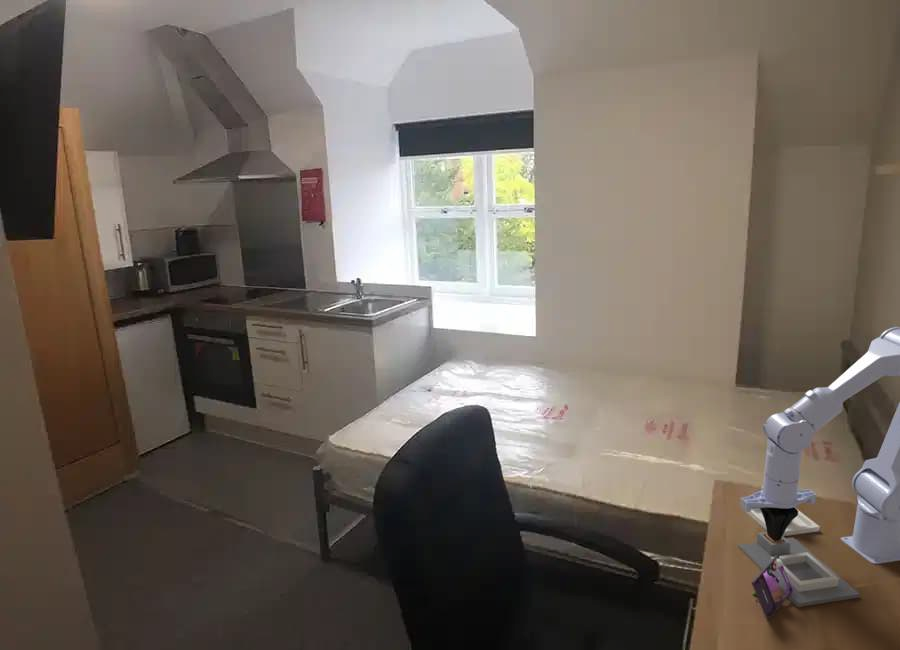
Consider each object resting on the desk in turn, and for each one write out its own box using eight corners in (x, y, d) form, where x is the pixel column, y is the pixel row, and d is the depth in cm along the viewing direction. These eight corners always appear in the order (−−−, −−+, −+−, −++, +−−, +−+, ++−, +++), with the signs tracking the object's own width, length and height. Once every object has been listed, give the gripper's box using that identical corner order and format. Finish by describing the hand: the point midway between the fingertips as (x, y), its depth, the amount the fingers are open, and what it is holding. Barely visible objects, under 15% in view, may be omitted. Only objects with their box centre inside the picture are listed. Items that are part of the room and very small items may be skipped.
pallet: (792, 540, 117) (794, 527, 116) (859, 597, 101) (861, 583, 100) (737, 548, 115) (739, 535, 115) (797, 607, 100) (798, 592, 99)
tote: (784, 505, 129) (785, 500, 128) (818, 532, 119) (819, 526, 119) (743, 511, 127) (744, 505, 127) (774, 538, 118) (775, 532, 117)
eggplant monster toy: (757, 583, 97) (782, 555, 102) (729, 578, 101) (754, 552, 106) (773, 621, 96) (797, 591, 101) (744, 614, 101) (768, 586, 106)
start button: (774, 541, 115) (775, 533, 115) (782, 548, 113) (783, 540, 112) (764, 542, 115) (765, 534, 114) (771, 549, 113) (772, 541, 112)
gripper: (800, 461, 115) (793, 521, 118) (733, 469, 113) (727, 530, 116) (828, 479, 108) (819, 542, 111) (756, 488, 106) (749, 552, 110)
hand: (773, 537), depth 113 cm, fingers closed, pressing on start button
